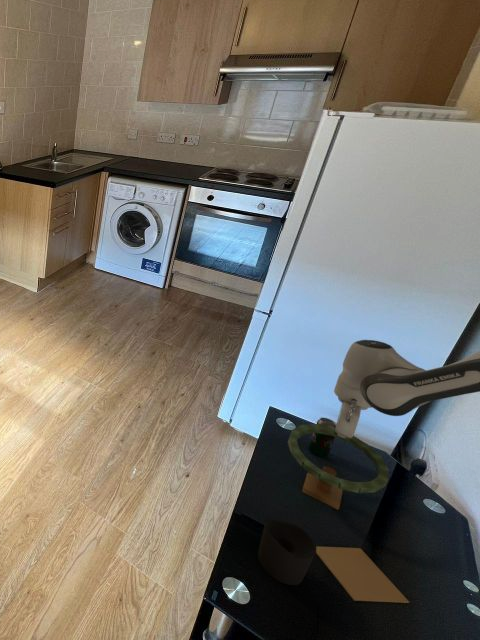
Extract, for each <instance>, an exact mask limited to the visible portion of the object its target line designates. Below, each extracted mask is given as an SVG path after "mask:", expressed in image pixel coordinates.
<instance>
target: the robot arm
mask: <svg viewBox="0 0 480 640" xmlns="http://www.w3.org/2000/svg"><path fill="white" fill-rule="evenodd" d="M333 393H334V394H335V395H336V397H337V398H338V401H339V402H340V403H341V404H340V409H339V412H338V417H337V422H336V423H337V424H336V429H335V432H336V433H338V434H337V435H338V436H339V437H342V438H346V437H348V438H352V437H353V436H355V432H356V429H357V427H358V423H359V421H360V417H361V412H362V411H367V410H368V409H370V408H371V409H372V408H373V409H374V410H376V411H377V412H378V413H381V414H383V415H387V416H389V417H390V416H391V417H402V416H406V415H408V413H410V412H412V411H413V410H415V409H417V408H419V407H422V406H424V405H426V404H428V403H430V402H433V401H437V400H443V399H448V398H453V397H458V396H464V395H469V394H474V393H480V350H478V351H476V352H474V353H472V354H471V355H468V356H467V357H465V358H463V359H460V360H458V361H456V362H453V363H450V364H448V365H443V366H439V367H435V368H432V369H424V368H422V367H419V366H417V365H415V364H414V363H412V362H410V361H409V360H407V359H406V358H405V357H403V356H401V354H399V353H398V352H397V351H396V349H395V348H394V347H393V346H392V345H390V344H388V343H386V342H384V341H380V340H373V339H361V340H357V341H354V342H353V343H351V345H350V347H349V349H348V350H347V352H346V355H345V356H344V360H343V362H342V371H341V372H340V374H339V375H338V378H337V380H336V384H335V386H334V389H333Z"/></svg>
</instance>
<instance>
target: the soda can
mask: <svg viewBox="0 0 480 640" xmlns="http://www.w3.org/2000/svg"><path fill="white" fill-rule="evenodd" d="M316 424H319V425H324V426H329V427H333V429H334V428H336V424H337V422H335V421H334V420H333V419H331V418H328V417H320V418H319V419H317V421H316ZM335 439H336V437H334V436H331V435H326V434H321V433H312V436H311V438H310V442H309V444H308V450H309V452H310V453H312V454H313V455H314V454H315V455H314V456H316V457H319V458H328V457H329V456H330V453H331V450H332V448H333V445H334V443H335Z"/></svg>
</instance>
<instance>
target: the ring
mask: <svg viewBox="0 0 480 640" xmlns="http://www.w3.org/2000/svg"><path fill="white" fill-rule="evenodd" d="M335 429H336V428H334V429H333V427H329V426H324V425H319V424H317V423H309V424H300V425H299V426H297V427H294V428H292V430H291V432H290V434H289V438H288V440H287V445H288V448H289V452H290V454H291V456H292V457H293V458H294V459H295V461H296V462H297V463H298V464H299V465H300V467H302V468H303V469H304V470H305V471H306V472H307V473H310V474H312V475H314V476H315V477H316V478H319V480H322V481H324V482H326V483H328V484H330V485H332V486H334V487H336V488H338V487H339V489H343V491H346V492H347V491H348V492H352V493H355V494H358V493H359V494H370V493H371V494H372V493H377V492H379V491H380V490H381V489H383V488H385V487H386V486H387V484H388V482H389V475H390V470H389V468H388V466H387V464H386V462H385V460H384V459H383V457H382V456H381V455H380V454H379V453H378V452H377V451H376V450H375V449H374V448H372V446H370V445H369V444H368V443H366V442H365V441H363V440H361V439H360V438H359V437H357V436H355V435H353V437H352V438H348V437H346V438H342V437H339V436H338V435H337V434H338V433H336V432H335ZM313 433H321V434H326V435H331V436H334V437H335V439H336V438H337V439H339V440H342V441H344V442H347V443H348V444H350V445H351V446H353V447H355V448H356V449H358V450H359V451H361V452H362V453H363V454H364V455H365V456H366V457H367V458H368V459H369V460H370V461H371V462H372V464H373V466H374V468H375V469H376V471H377V473H376V477H375V478H373V479H372V480H370V481H358V482H357V481H352V480H347V479H344V478H340V477H337V476H336V477H335V476H333V475H331V474H329V473H327V472H324V471H322V468H319V467H318V466H317V465H315V464H314V463H313V462H312V461H310V460H309V459H308V458H307V456H306V455H305V454H304V453H303V452H302V451H301V449H300V446H299V444H298V440H299V438H301V437H303V436H304V435H308V434H313Z"/></svg>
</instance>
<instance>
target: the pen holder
mask: <svg viewBox="0 0 480 640" xmlns="http://www.w3.org/2000/svg"><path fill="white" fill-rule="evenodd" d="M264 523H265V524H264V526H263V530H262V534H261V537H260V538H261V539H260V542H259V546H258V550H257V557H258V558H257V559H258V562H259V564H260V565H261V567H262V568H263V569H264V571H265V572H266V574H268V575H269V576H271V578H273V579H274V580H276V581H278V582H280V583H282V584H285V585H288V586H298V585H301V583H302V582H303V581H304V578H305V576H306V574H307V573H308V570H309V568H310V566H311V564H312V562H313V559H314V557H315V555H316V546H317V544H316V542H315V541H314V539H313V538H312V537H311V535H310V534H309V533H308V532H307V531H306V530H305V529H304V528H302V527H301V526H300V525H298V524H295V523H293V522H287V521H282V520H279V519H276V518H273V517H269V518H267V519H266V521H265V522H264Z"/></svg>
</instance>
